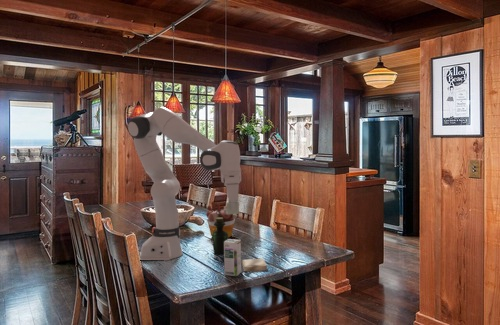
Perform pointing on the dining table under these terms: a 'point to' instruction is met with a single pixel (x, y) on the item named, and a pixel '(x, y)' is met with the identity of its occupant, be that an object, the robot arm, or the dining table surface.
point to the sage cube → (230, 208)
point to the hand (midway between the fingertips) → (232, 209)
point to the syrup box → (232, 257)
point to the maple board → (254, 264)
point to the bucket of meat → (222, 213)
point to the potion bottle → (219, 237)
